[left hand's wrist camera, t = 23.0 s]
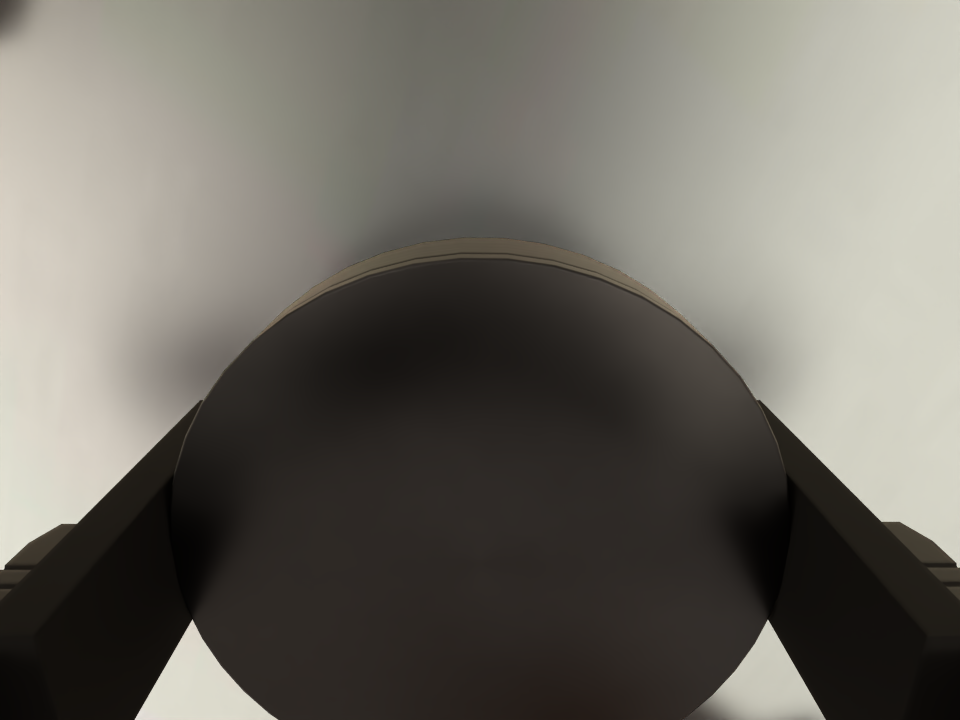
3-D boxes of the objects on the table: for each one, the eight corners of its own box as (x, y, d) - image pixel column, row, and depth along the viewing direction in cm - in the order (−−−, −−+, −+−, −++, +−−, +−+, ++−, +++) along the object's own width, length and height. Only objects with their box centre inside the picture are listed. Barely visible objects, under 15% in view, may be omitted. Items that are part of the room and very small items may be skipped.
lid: (122, 561, 13) (69, 627, 11) (394, 106, 10) (377, 104, 8) (538, 771, 15) (545, 854, 13) (864, 441, 12) (927, 494, 10)
